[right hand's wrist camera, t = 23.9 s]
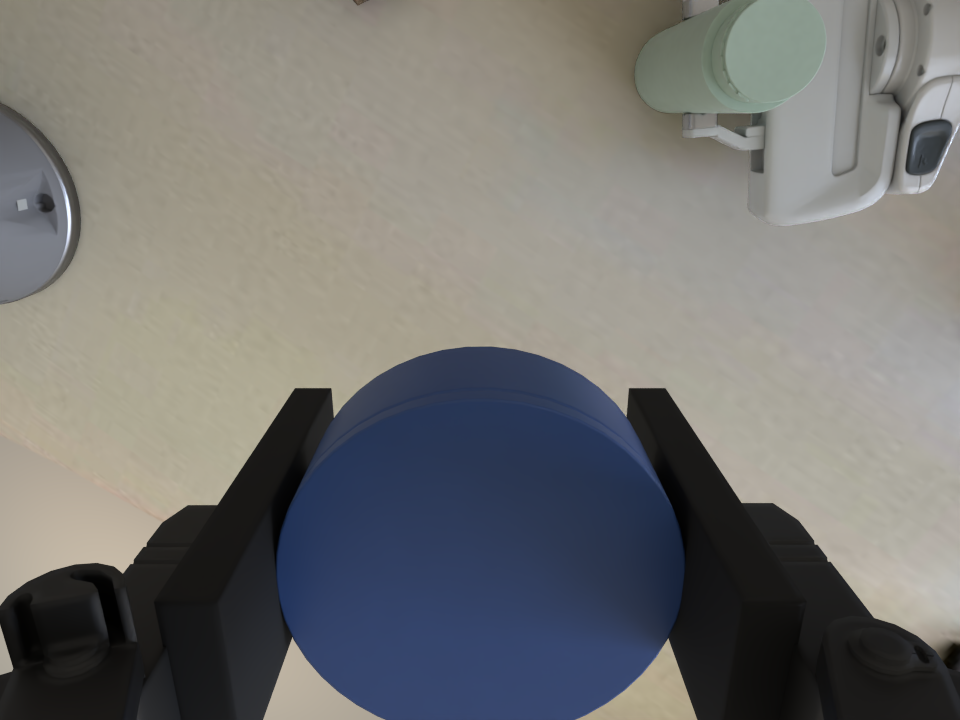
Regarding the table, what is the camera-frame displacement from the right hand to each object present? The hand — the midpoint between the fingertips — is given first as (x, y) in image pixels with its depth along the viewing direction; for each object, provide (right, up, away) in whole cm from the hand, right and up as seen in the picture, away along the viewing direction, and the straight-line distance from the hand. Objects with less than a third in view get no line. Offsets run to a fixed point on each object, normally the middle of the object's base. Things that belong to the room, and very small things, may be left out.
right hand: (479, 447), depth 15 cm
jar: (+14, +22, +33) cm, 42 cm away
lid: (0, -1, -4) cm, 4 cm away
